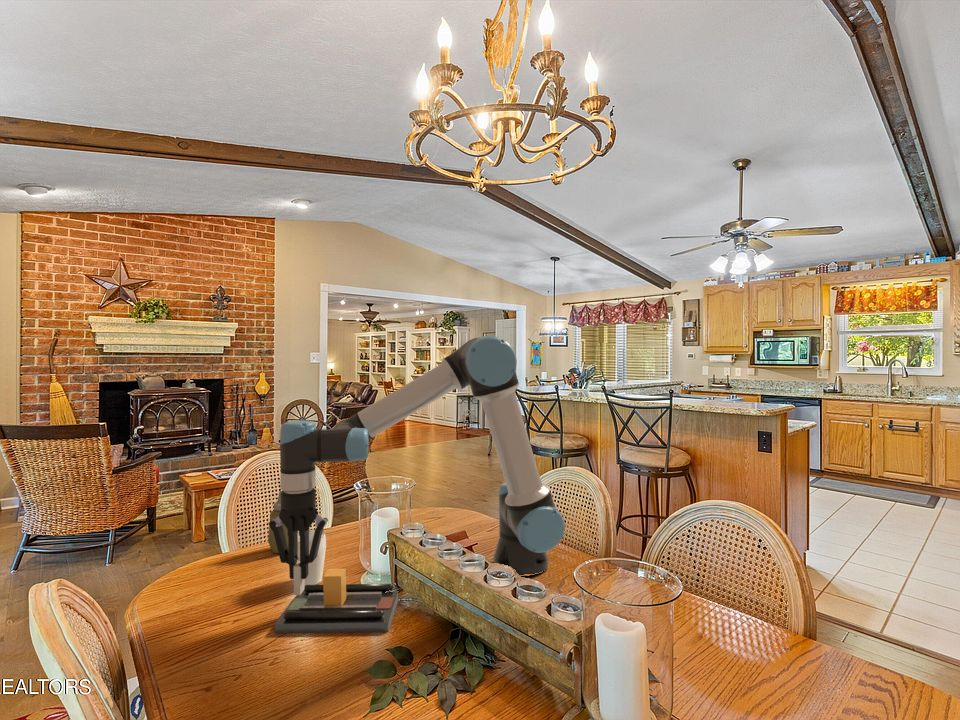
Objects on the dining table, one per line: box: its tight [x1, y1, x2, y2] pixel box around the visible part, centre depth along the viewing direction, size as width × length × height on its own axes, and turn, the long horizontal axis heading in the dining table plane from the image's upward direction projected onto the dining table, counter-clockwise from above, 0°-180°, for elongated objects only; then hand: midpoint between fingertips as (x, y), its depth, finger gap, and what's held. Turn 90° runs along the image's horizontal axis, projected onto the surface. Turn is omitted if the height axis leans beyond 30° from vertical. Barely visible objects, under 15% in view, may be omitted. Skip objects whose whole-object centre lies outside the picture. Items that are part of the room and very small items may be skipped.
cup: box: [297, 529, 327, 586], centre depth 129 cm, size 9×9×12 cm
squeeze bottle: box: [267, 490, 289, 554], centre depth 150 cm, size 8×8×18 cm
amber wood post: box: [322, 568, 347, 606], centre depth 113 cm, size 4×4×7 cm
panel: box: [274, 583, 399, 634], centre depth 113 cm, size 24×16×4 cm, turn 90°
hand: (299, 592), depth 113 cm, fingers closed
